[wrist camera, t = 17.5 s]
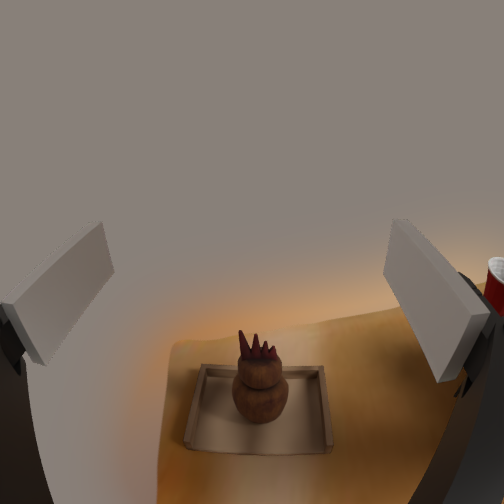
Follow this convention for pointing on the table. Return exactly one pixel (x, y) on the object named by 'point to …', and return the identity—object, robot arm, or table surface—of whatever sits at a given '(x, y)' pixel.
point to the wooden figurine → (259, 382)
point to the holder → (254, 434)
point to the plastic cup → (495, 284)
